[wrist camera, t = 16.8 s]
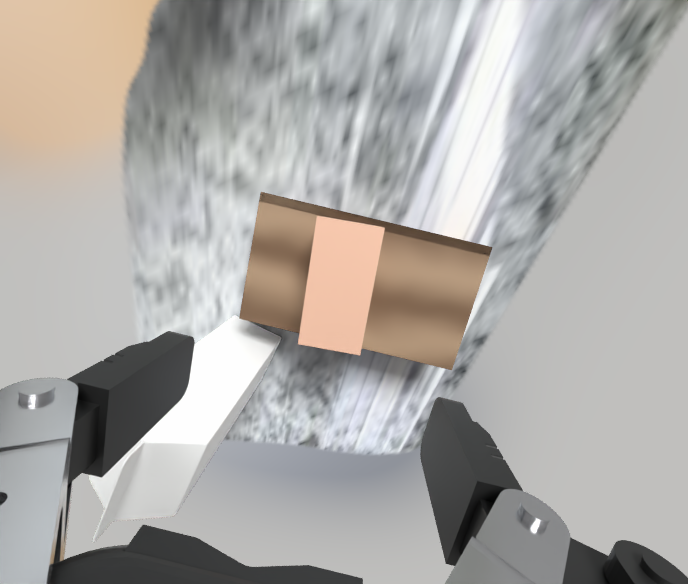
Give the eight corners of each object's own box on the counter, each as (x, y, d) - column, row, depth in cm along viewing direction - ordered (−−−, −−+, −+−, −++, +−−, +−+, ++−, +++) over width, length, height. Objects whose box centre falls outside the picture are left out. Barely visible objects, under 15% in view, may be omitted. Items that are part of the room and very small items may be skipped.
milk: (216, 357, 39) (36, 522, 18) (235, 313, 38) (65, 434, 17) (263, 379, 40) (140, 570, 18) (283, 336, 38) (177, 486, 17)
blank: (324, 216, 29) (316, 216, 24) (381, 226, 29) (384, 228, 24) (308, 324, 31) (297, 344, 26) (360, 334, 31) (360, 355, 26)
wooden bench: (278, 196, 35) (260, 191, 29) (469, 242, 35) (492, 247, 29) (259, 302, 38) (239, 318, 31) (437, 345, 37) (451, 370, 31)
